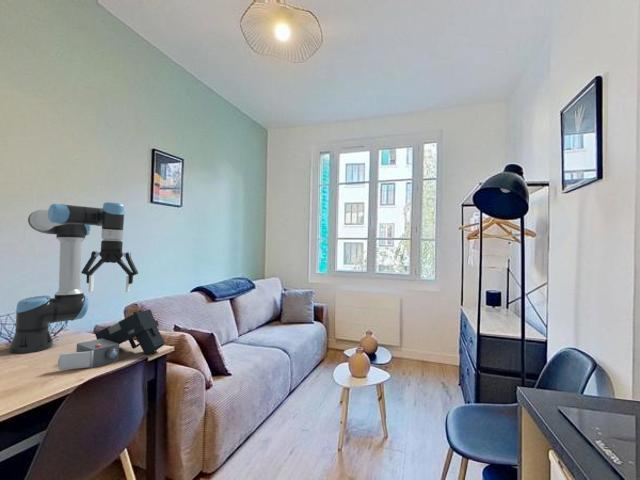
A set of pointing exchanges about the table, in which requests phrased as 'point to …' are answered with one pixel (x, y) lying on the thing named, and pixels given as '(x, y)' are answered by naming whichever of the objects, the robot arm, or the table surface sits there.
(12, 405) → the table surface
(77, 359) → the door
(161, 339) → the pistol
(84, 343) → the camera body
